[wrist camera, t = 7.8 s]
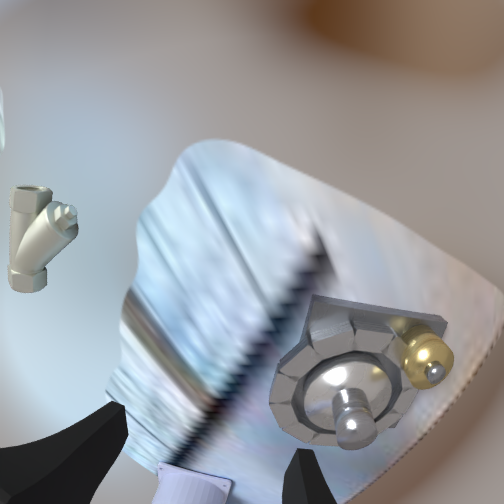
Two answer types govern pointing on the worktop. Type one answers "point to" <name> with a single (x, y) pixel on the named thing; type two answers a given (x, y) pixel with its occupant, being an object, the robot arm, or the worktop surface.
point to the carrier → (366, 342)
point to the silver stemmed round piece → (348, 397)
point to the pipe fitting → (36, 235)
